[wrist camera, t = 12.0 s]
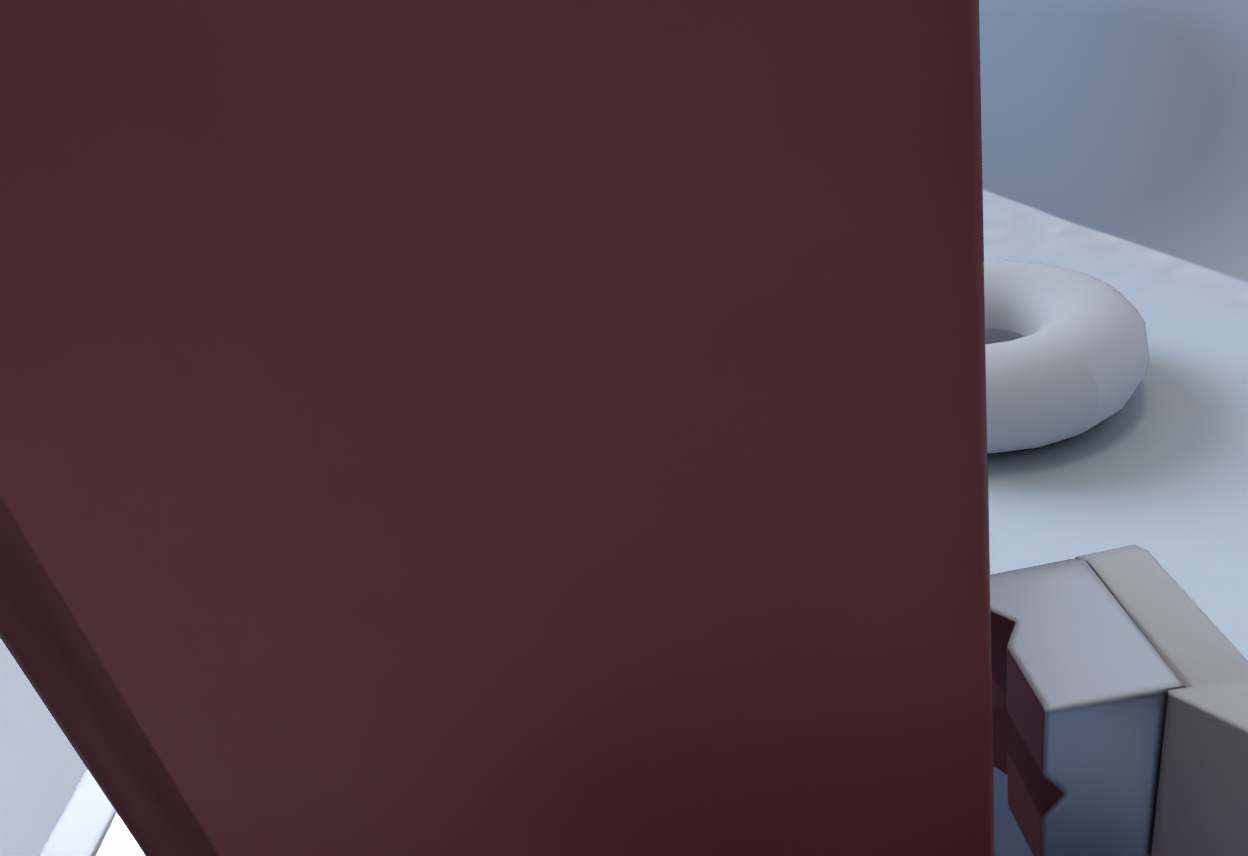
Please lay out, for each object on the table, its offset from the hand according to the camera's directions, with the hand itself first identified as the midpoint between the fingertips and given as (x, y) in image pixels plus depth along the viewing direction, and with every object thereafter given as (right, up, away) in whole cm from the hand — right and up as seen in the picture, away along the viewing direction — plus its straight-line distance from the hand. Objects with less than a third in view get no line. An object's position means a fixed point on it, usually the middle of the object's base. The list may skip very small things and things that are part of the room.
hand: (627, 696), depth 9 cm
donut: (+12, +3, +25) cm, 28 cm away
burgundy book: (+1, -6, +5) cm, 8 cm away
